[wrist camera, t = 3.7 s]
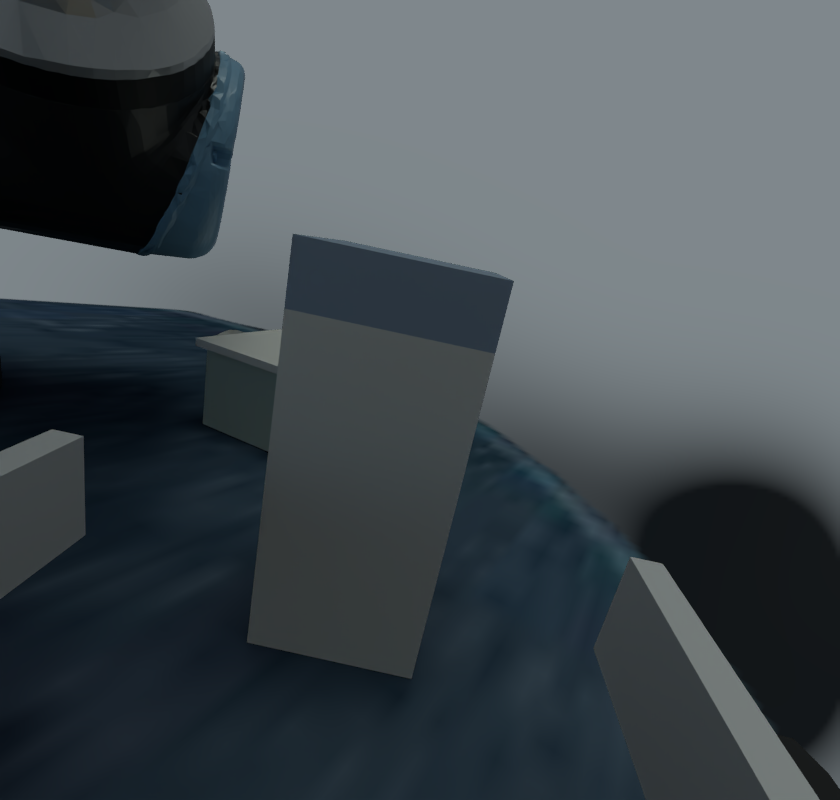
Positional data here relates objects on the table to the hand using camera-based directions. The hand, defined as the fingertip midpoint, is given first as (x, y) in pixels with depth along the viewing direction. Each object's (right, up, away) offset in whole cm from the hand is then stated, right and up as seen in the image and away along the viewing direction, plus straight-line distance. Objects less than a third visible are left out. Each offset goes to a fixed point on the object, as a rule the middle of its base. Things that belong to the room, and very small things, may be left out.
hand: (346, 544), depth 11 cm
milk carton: (-1, -5, +8) cm, 10 cm away
